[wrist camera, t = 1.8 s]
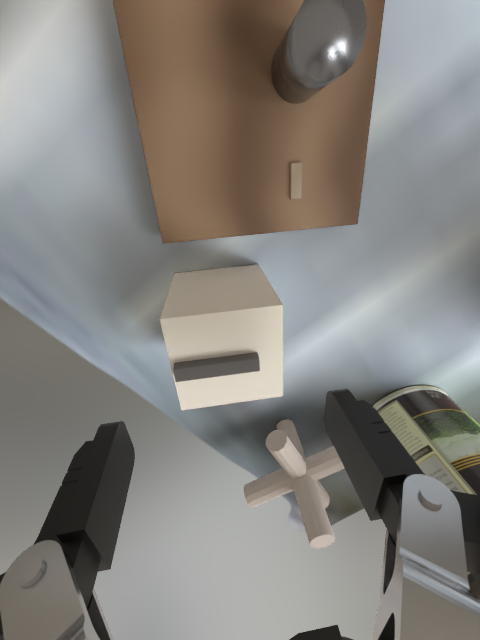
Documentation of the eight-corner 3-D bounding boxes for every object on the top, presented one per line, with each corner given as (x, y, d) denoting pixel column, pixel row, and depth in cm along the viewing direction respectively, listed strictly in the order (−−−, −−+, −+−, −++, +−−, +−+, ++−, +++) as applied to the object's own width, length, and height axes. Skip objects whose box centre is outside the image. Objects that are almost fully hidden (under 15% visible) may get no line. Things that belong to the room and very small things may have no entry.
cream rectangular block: (258, 264, 20) (286, 310, 13) (261, 335, 22) (285, 403, 16) (173, 273, 19) (157, 325, 13) (187, 344, 22) (180, 418, 15)
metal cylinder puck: (325, 31, 13) (371, -24, 9) (321, 102, 14) (361, 77, 10) (270, 34, 13) (296, -21, 9) (271, 105, 14) (294, 81, 10)
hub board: (372, -77, 13) (402, -122, 11) (343, 219, 19) (358, 224, 17) (106, -70, 12) (87, -117, 10) (166, 236, 18) (162, 244, 16)
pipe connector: (217, 417, 26) (224, 539, 17) (312, 370, 25) (372, 478, 16) (262, 470, 31) (286, 588, 22) (345, 433, 29) (405, 543, 21)
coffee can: (439, 366, 26) (646, 535, 14) (457, 425, 31) (625, 592, 19) (342, 415, 28) (451, 605, 16) (373, 464, 33) (476, 640, 20)
